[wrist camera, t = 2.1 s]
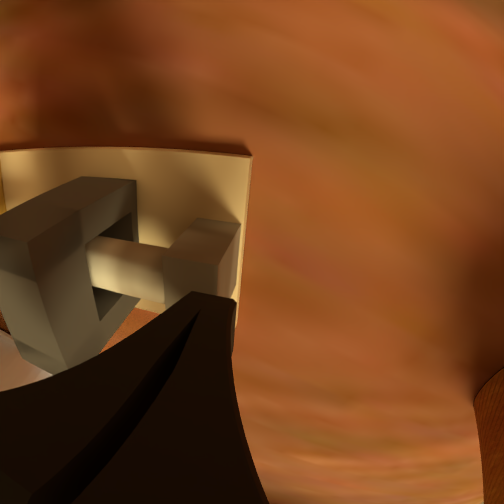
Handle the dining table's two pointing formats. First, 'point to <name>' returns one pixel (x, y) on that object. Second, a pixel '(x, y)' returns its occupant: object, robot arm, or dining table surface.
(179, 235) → the pipe stand
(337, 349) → the dining table surface
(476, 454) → the dining table surface
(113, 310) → the grey notched block
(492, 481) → the disposable coffee cup
